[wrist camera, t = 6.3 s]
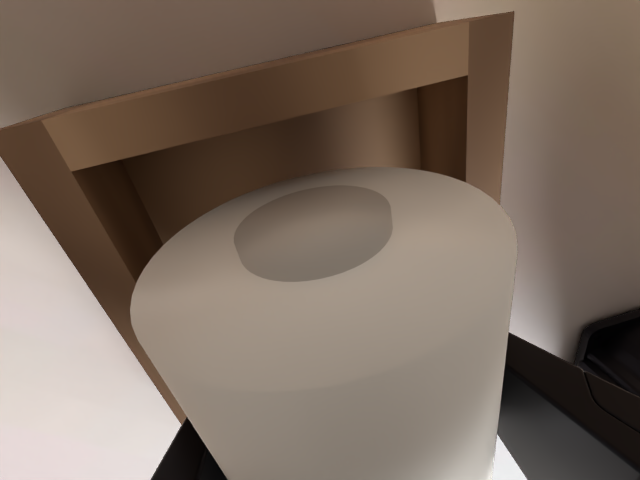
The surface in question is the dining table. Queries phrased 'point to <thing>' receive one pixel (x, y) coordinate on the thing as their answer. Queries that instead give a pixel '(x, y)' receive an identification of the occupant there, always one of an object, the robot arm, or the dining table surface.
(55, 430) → the dining table surface
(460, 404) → the paper roll
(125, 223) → the walnut cradle
